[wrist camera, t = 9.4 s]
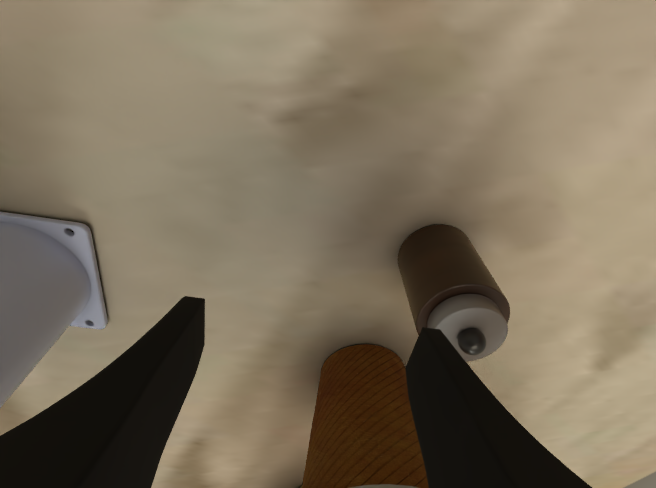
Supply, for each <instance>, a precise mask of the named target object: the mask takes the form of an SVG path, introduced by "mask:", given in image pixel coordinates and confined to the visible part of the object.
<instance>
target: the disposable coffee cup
mask: <svg viewBox="0 0 656 488" xmlns="http://www.w3.org/2000/svg"><path fill="white" fill-rule="evenodd" d="M302 488H429V486H428V480H427V475H426V470H425V465H424V461H423V457H422V453H421V448H420V444H419V440H418V436H417V432H416V428H415V424H414V419H413V415H412V411H411V406H410V402H409V397H408V389H407V380H406V369H405V367H404V364H403V362H402V360H401V359H400V357H399V356H397V355H396V354H395V353H394V352H392V351H391V350H389V349H386V348H384V347H381V346H376V345H367V344H363V345H354V346H350V347H346V348H343V349H341V350H339V351H337V352H335V353H334V354H332V355H331V356H330V357H329V358H328V359H327V360H326V361H325V362H324V365H323V367H322V369H321V377H320V382H319V388H318V395H317V401H316V407H315V413H314V418H313V423H312V429H311V435H310V442H309V448H308V454H307V460H306V466H305V471H304V478H303V484H302Z"/></svg>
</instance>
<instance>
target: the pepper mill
mask: <svg viewBox="0 0 656 488" xmlns="http://www.w3.org/2000/svg"><path fill="white" fill-rule="evenodd" d="M398 266H399V269H400V273H401V277H402V280H403V284H404V287H405V291H406V294H407V298H408V301H409V305H410V308H411V312H412V316H413V319H414V323H415V326H416V330H417V333H418V335H420V332H421V330H422V327H426V328H433V329H440V330H441V331H442V332H443V334H444V335H445V336H446V337H447V339H448V340H449V341H450V342H451V344H452V345H453V346H454V348H455V349H456V350H457V351H458V353H459V354H460V355H461V357H462V358H463V359H464V360H465V362H466V361H473V360H477V359H481V358H483V357H486V356H488V355H490V354H491V353H493V352H494V351H496V350H497V349H498V348H499V347H500V346H501V345H502V344H503V342H504V341H505V339H506V336H507V332H508V326H507V323H508V320H509V316H510V307H509V303H508V301H507V299H506V297H505V296H504V294H503V293H502V291H501V290H500V288H499V286H498V285H497V283H496V282H495V280H494V278H493V277H492V275H491V274H490V272H489V270H488V269H487V267H486V266H485V264H484V263H483V261H482V259H481V258H480V256H479V255H478V253H477V251H476V250H475V248H474V247H473V245H472V244H471V242H470V240H469V239H468V237H467V236H466V235H465V234H464V233H463V232H462V231H461V230H459V229H457V228H455V227H452V226H448V225H431V226H427V227H424V228H421V229H419V230H417V231H416V232H414V233H413V234H411V235H410V236H409V237H408V238H407V239H406V240H405V242H404V243H403V244H402V246H401V248H400V250H399V254H398Z"/></svg>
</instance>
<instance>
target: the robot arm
mask: <svg viewBox="0 0 656 488" xmlns="http://www.w3.org/2000/svg"><path fill="white" fill-rule="evenodd" d="M69 229H72V230H73V232H74V233H73V232H71V231H70V230H69ZM91 321H92V322H91ZM107 324H108V319H107V314H106V309H105V303H104V298H103V293H102V287H101V282H100V277H99V271H98V266H97V261H96V255H95V250H94V245H93V239H92V234H91V230H90V228H89V227H88V226H87V225H85V224H83V223H78V222H71V221H64V220H57V219H50V218H43V217H36V216H29V215H21V214H14V213H7V212H0V408H1V407H2V406H3V404H4V403H5V402H6V401H7V400H8V398H9V397H10V396H11V395H12V394H13V392H14V391H15V390H16V389H17V388H18V386H19V385H20V384H21V383H22V382H23V380H24V379H25V378H26V377H27V376H28V374H29V373H30V372H31V371H32V370H33V368H34V367H35V366H36V365H37V364H38V362H39V361H40V360H41V359H42V358H43V356H44V355H45V354H46V353H47V352H48V350H49V349H50V348H51V347H52V346H53V344H54V343H55V342H56V341H57V340H58V338H59V337H60V336H61V335H62V334H63V332H64V331H65V330H66V329H67V328H68V327H69V326H76V327H84V328H92V329H103V328H105V327H106V325H107ZM204 329H205V299H203V298H195V297H187V296H185V297H183V298H182V299H181V300H180V301H179V302H178V303H177V304H176V305H175V306H174V307H173V308H172V309H171V310H170V311H169V312H168V313H167V314H166V315H165V316H164V317H163V318H162V319H161V320H160V321H159V322H158V323H157V324H156V325H155V326H154V327H152V328H151V329H150V330H149V331H148V332H147V333H146V334H145V335H144V336H143V337H142V338H140V339H139V340H138V341H137V342H136V343H135V344H134V345H133V346H131V347H130V348H129V349H128V350H127V351H125V352H124V353H123V354H122V355H121V356H119V357H118V358H117V359H116V360H115V361H113V362H112V363H111V364H110V365H108V366H107V367H106V368H104V369H103V370H102V371H101V372H99V373H98V374H97V375H95V376H94V377H93V378H91V379H90V380H88V381H87V382H86V383H84V384H83V385H81V386H80V387H79V388H77V389H76V390H74V391H73V392H71V393H70V394H68V395H67V396H65V397H64V398H62V399H61V400H59V401H58V402H56V403H55V404H53V405H52V406H50V407H49V408H47V409H45V410H44V411H42V412H41V413H39V414H37V415H36V416H34V417H33V418H31V419H29V420H27V421H26V422H24V423H22V424H20V425H19V426H17V427H15V428H13V429H12V430H10V431H8V432H6V433H5V434H3V435H1V436H0V488H151V486H152V483H153V480H154V477H155V474H156V470H157V467H158V464H159V461H160V458H161V455H162V453H163V450H164V448H165V445H166V442H167V440H168V438H169V435H170V433H171V431H172V428H173V426H174V424H175V421H176V419H177V417H178V414H179V412H180V410H181V407H182V405H183V403H184V400H185V398H186V396H187V393H188V391H189V389H190V386H191V384H192V381H193V379H194V377H195V374H196V371H197V368H198V365H199V361H200V358H201V354H202V351H203V347H204ZM405 369H406V380H407V389H408V397H409V402H410V406H411V411H412V415H413V419H414V424H415V428H416V432H417V436H418V440H419V444H420V448H421V453H422V457H423V461H424V465H425V470H426V475H427V480H428V486H429V488H592V487H591V486H589V485H588V484H587V483H586V482H584V481H583V480H582V479H581V478H579V477H578V476H577V475H576V474H575V473H573V472H572V471H571V470H570V469H569V468H567V467H566V466H565V465H564V464H563V463H562V462H561V461H559V460H558V459H557V458H556V457H555V456H554V455H553V454H551V453H550V452H549V451H548V450H547V449H546V448H545V447H544V446H543V445H541V444H540V443H539V442H538V441H537V440H536V439H535V438H534V437H533V436H532V435H531V434H530V433H529V432H528V431H527V430H526V429H525V428H524V427H523V426H522V425H521V424H520V423H519V422H518V421H517V420H516V419H515V418H514V417H513V416H512V415H511V414H510V413H509V412H508V411H507V410H506V409H505V407H504V406H503V405H502V404H501V403H500V402H499V401H498V400H497V399H496V398H495V396H494V395H493V394H492V393H491V392H490V391H489V390H488V388H487V387H486V386H485V385H484V384H483V383H482V381H481V380H480V379H479V378H478V376H477V375H476V374H475V373H474V372H473V370H472V369H471V368H470V367H469V365H468V364H467V363H466V362H465V360H464V359H463V358H462V357H461V355H460V354H459V353H458V351H457V350H456V349H455V348H454V346H453V345H452V344H451V342H450V341H449V340H448V339H447V337H446V336H445V335H444V334H443V332H442V331H441V330H440V329H433V328H426V327H422V330H421V332H420V335H419V337H418V339H417V342H416V344H415V346H414V349H413V351H412V354H411V356H410V358H409V361H408V363H407V366H406V368H405Z"/></svg>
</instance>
